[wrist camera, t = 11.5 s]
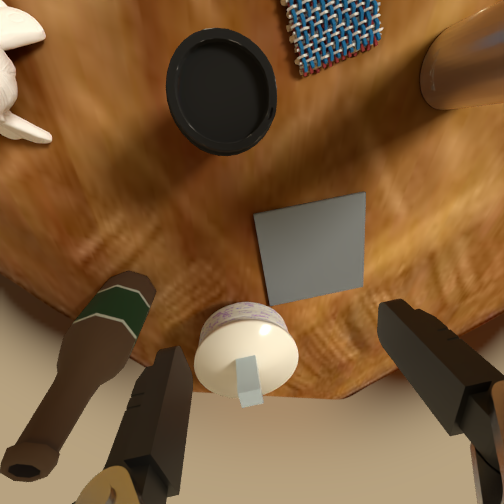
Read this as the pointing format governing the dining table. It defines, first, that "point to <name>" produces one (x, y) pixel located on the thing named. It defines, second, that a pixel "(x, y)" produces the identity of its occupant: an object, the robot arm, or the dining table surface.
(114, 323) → the beer bottle
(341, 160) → the dining table surface
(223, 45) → the coffee cup
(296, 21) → the woven mat
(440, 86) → the robot arm
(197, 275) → the dining table surface
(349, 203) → the mat
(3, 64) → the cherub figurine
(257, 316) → the paper bowls
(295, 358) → the lid
